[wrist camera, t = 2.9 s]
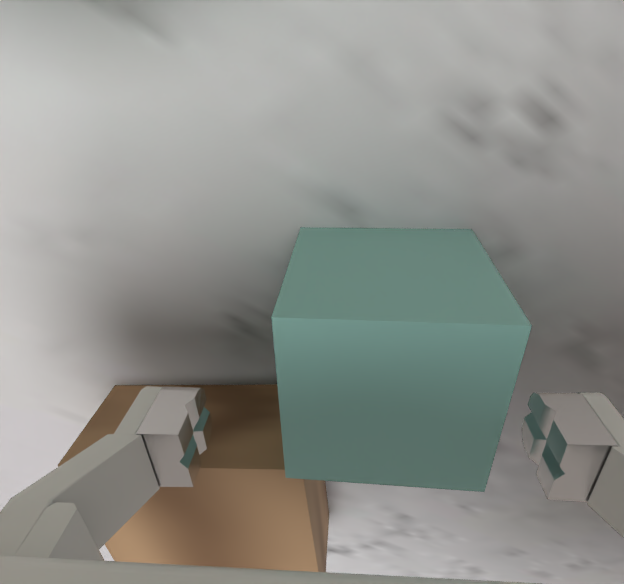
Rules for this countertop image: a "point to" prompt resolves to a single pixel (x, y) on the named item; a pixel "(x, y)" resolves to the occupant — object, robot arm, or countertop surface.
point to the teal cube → (394, 357)
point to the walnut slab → (224, 492)
